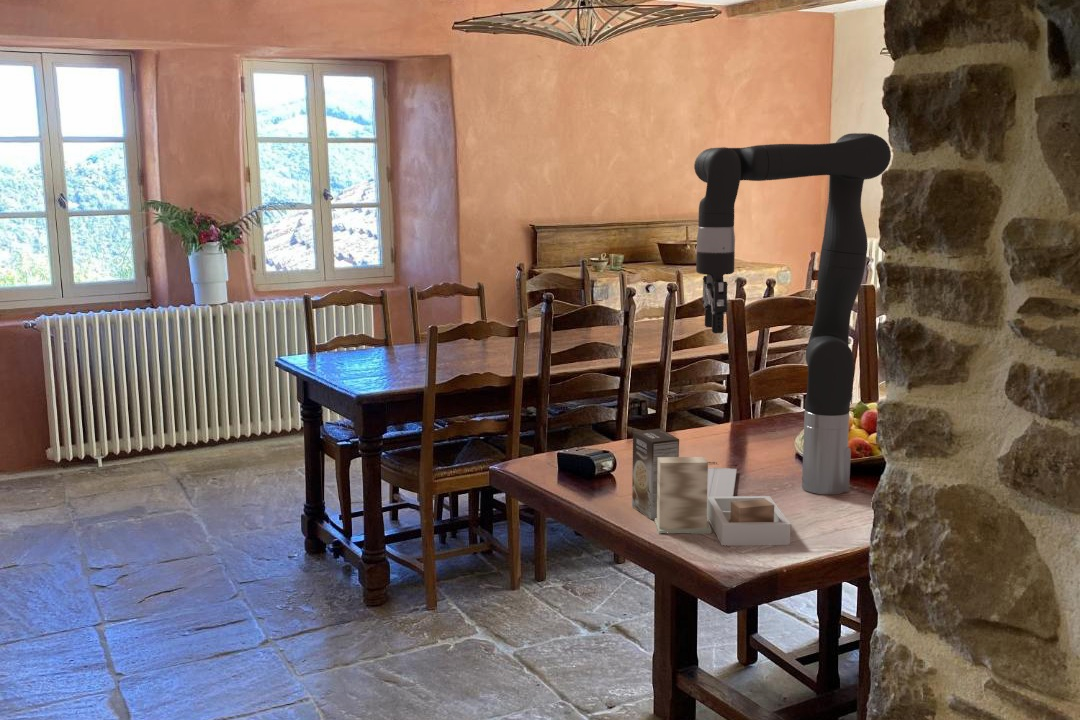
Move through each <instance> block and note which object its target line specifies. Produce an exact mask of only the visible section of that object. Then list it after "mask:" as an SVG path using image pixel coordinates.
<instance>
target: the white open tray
mask: <svg viewBox="0 0 1080 720" xmlns="http://www.w3.org/2000/svg"><path fill="white" fill-rule="evenodd" d="M758 499H766V500H768V501H769V502H771V503H772V504H774V522H735V523H729V519H730V514H731V502H736V501H747V500H758ZM707 519H708V521H709V523H710V525H711V528H712V529H713V530H714V533H715V534H716V536H717V539H718V540H719V542H720V544H721V546H723V545H724V546H726V545H727V546H733V547H734V546H735V547H736V546H790V545H791V544H790V543H791V523H790V521H789V520H788V519H787V517H786V516H785V515H784V514H783V512H782V511H781V510H780V508H779V507H778V506H777V504H776V503H775V502H774V500H773V499H772V498H771V495H761V496H759V495H757V496H756V495H755V496H753V495H752V496H751V495H748V496H747V495H745V496H744V495H743V496H737V495H735V496H734V495H733V496H725V497H707Z"/></svg>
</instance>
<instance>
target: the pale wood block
mask: <svg viewBox="0 0 1080 720" xmlns="http://www.w3.org/2000/svg"><path fill="white" fill-rule="evenodd" d="M708 468H709V461H708V460H707V459H706V457H705V456H679V457H658V467H657V524H658V527H659V529H699V528H707V522H708V520H707V519H708V517H707V484H708Z"/></svg>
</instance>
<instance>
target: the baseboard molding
mask: <svg viewBox="0 0 1080 720" xmlns="http://www.w3.org/2000/svg"><path fill="white" fill-rule="evenodd" d="M708 464H709V465H712V466H713V465H714V466H716V465H718V462H717V461H708ZM728 466H730V467H731V466H733V467H734V465H733V464H732V465H731V464H728ZM735 467H738V465H737V464H735ZM737 470H738V469H737V468H729V467H728V468H725V467H719V468H718V467H708V484H707V497H725V496H734V494H735V493H734V492H735V485H736V479H737V478H736V477H737V473H738V471H737Z"/></svg>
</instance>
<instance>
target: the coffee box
mask: <svg viewBox="0 0 1080 720" xmlns="http://www.w3.org/2000/svg"><path fill="white" fill-rule="evenodd" d="M658 457H680V438H678V437H676V436H675V435H672V434H671V433H669V432H666V431H665V430H663V429H661V428H654V429H646V430H637V431H633V432H632V472H631V473H632V475H631V476H632V485H631V487H632V488H631V489H632V490H631V506H632V508H634V509H635V510H637V511H638V512H639V511H640V513H641V514H642V513H643V514H642V515H644V516H645V517H646V518H648V517H649V518H650V520H655V518H657V467H658ZM649 518H648V519H649Z"/></svg>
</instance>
